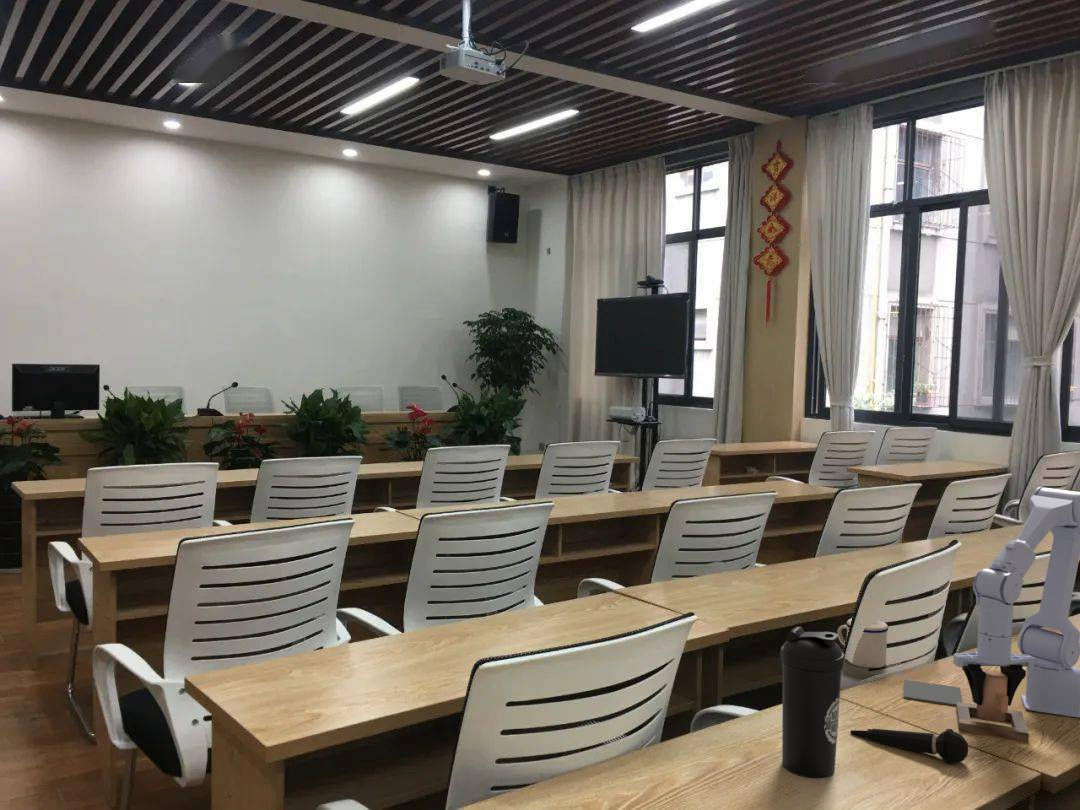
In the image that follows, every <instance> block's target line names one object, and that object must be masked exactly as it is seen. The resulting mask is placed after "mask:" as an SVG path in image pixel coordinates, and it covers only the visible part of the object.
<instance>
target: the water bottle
mask: <svg viewBox="0 0 1080 810" xmlns="http://www.w3.org/2000/svg"><path fill="white" fill-rule="evenodd" d="M837 640H839V638H838V633H836V632H832V631H805V630H804V629H803V627H801V626H795V627H794V628H792V629H791V630H790V631H788V633H787V635H786V641H784V643H783V645H781V647H780V660H781V663H782V725H781V726H782V734H781V735H782V737H781V738H782V739H781V740H782V741H781V742H782V744H781V745H782V748H781V749H782V756H781V757H782V758H781V762H782V766H783V768H784V769H785V770H787V772H790V773H792V774H794V775H796V776H799V777H803V778H808V779H809V778H810V779H824V778H828V777H831V776H833V775H834V774H835V769H836V758H837V757H836V756H837V755H836V753H837V744H838V743H837V741H838V731H839V730H838V729H839V718H840V704H841V703H840V702H841V701H840V699H841V685H842V684H841V681H842V670H843V669H844V666H845V653H844V652H843V651H842V649H841V646H840V645H839V644H838V643H836V641H837Z"/></svg>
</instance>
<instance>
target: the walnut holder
mask: <svg viewBox="0 0 1080 810" xmlns="http://www.w3.org/2000/svg"><path fill="white" fill-rule="evenodd" d="M955 711H956V718H957V727H958V731H961V732H967V733H973V734H980V735H985V736H992V737H998V738H1004V739H1009V740H1010V739H1011V740H1017V741H1023V742H1029V737H1030V736H1029V735H1030V733H1029V730H1028V727H1027V723H1026V721H1025V718H1024V714H1023V711H1020V710H1014V709H1008V713H1006V720H1005V721H1007V722H1011V726H1008V725H1000V724H996V723H995V724H994V723H990V722H981V721H976V720H971V717H970V716H974V717H979V716H978V715H977V704H976V703H973V704H972V703H968V702H962V703H961V702H956V706H955Z"/></svg>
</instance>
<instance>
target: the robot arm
mask: <svg viewBox="0 0 1080 810" xmlns="http://www.w3.org/2000/svg"><path fill="white" fill-rule="evenodd" d="M1029 512H1030V513H1029V515H1028V517H1027V518H1026V521H1025V523H1024V524H1023V525H1022V527H1021V529H1020V531H1019V533H1018V535H1017V537H1016V539H1015V540H1008V541H1007V542H1006V543H1005V544H1004V545H1003V546H1002V548H1001V550H1000V551H999V553H998V554H997V555H996V557H995V558H994V560H993V561H992V562H991V564H990V565H989V567H986V568H983V569H981V570H979V571H978V572H977V574H976V575H975V577H974V582H973V583H972V588H973V589H972V590H973V593H974V595H975V604H976V606H977V607H978V623H977V624H978V627H977V646H976V647H977V648H976V649H977V651H970V652H964V653H953V661H952V662H953V665H955V666H956V667H959V668H962V671H963V673H964V674H965V678H966V679H967V681H968V685H969V689H970V693H971V698H972V703H973V704H975V705H982V700H983V686H984V681H985V677H986V675H987V674H986V673H985V672H984V671H982V670H983V668H982V667H999V669H1000V673H1003V674H1005V675H1007V676H1008V683H1007V696H1008V707H1010V706H1012V702H1013V700H1014V696H1015V694H1016V691H1017V690H1018V687H1019V686H1020V684H1022V683H1021V682H1022V681H1023V680H1024V679H1025V678H1026V683H1025V684H1026V686H1025V687H1026V688H1025V694H1021V700H1022V703H1023V705H1024V708H1025V710H1026V711H1032V712H1037V713H1044V714H1050V715H1051V714H1052V715H1058V716H1063V717H1064V716H1065V717H1072V718H1078V719H1079V718H1080V668H1079V667H1077V666H1075V665H1076V664H1077V663H1078V661H1079V659H1080V630H1079V629H1078V628H1077V627H1076V625H1074V624H1073V622H1072V621H1071V620H1070V619H1069V614H1070V608H1071V605H1072V599H1073V598H1072V597H1073V592H1074V589H1075V588H1074V587H1075V582H1076V579H1077V578H1076V577H1077V572H1078V567H1079V566H1078V565H1079V562H1080V491H1076V490H1075V491H1074V490H1066V489H1058V488H1050V487H1046V486H1041V485H1040V486H1038V487H1037V488H1036V489H1034V491H1033V492H1032V494H1031V497H1030V499H1029ZM1049 533H1051V534H1052V536H1053V539H1052V545H1051V550H1050V555H1049V559H1048V564H1047V570H1046V574H1045V580H1044V585H1043V589H1042V590H1043V591H1042V595H1041V599H1040V604H1039V605H1040V606H1039V611H1037V612H1036V613H1034V614H1032V615H1029V616H1028V617H1026V618H1025V620H1024V623H1023V626H1022V629H1021V630H1020V632H1019V633H1018V636H1017V637H1018V638H1017V648H1018V650H1019V652H1020V653H1021V654H1018V653H1012V638H1013V637H1012V636H1013V635H1012V633H1013V614H1014V613H1013V611H1014V603H1016V601H1018V599H1019V598H1020V596H1021V592H1022V587H1023V585H1024V581H1025V580H1024V579H1023V578H1024V577H1025V575H1026V574H1027V572H1028V571H1029V570H1030V568H1031V567H1032V565H1033V563H1034V562H1035V561H1036V554H1035V552H1034V551H1035V550H1036V548H1037V547H1038V546H1039V544H1041V542H1042V541H1043V540H1044V538H1046V537H1047V535H1048V534H1049ZM1044 628H1048V629H1051V630H1056V631H1058V632H1055V631H1051V630H1048V629H1044ZM1059 632H1060V633H1059ZM1023 667H1025V668H1026V670H1025V669H1024V668H1023Z"/></svg>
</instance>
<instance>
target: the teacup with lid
mask: <svg viewBox="0 0 1080 810" xmlns="http://www.w3.org/2000/svg"><path fill="white" fill-rule="evenodd" d="M851 621H852V617H851V618H849V619H848V620H847V621H846V623H845V624H842V625H840V626H839V627H838V628H837V634H838V640H839V642H840V643H841V644H842V646H844V647H846V646H845V642H847V640H845V638H844V636H843V630H844V629H846V637H847V636H848V632H849V628H850V625H851ZM880 621H881V620H880ZM880 621H876V622H874V623H872V624H871V625H869V626H868V627H866V628H865V629H864V631H863V632H864V633H863V634H862V637H861V638H860V640H859V642H858V644H857V647H856V650H855V653H854V657H853V662H852V664H851V665H853V666H856V667H860V668H865V669H879V668H883V667H885V666H886V664H887V643H888V641H887V640H888V630H889V626H888V624H887V623H886V622H884V621H882V622H880Z"/></svg>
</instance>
